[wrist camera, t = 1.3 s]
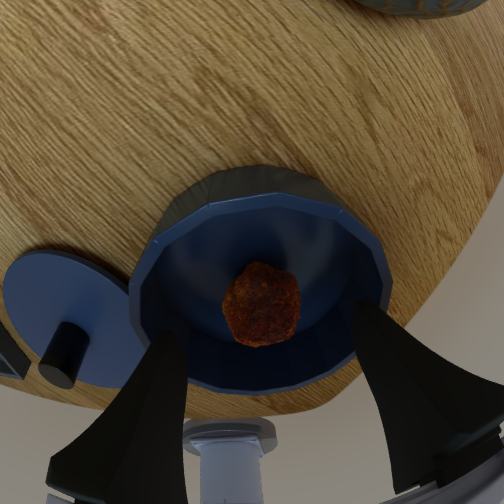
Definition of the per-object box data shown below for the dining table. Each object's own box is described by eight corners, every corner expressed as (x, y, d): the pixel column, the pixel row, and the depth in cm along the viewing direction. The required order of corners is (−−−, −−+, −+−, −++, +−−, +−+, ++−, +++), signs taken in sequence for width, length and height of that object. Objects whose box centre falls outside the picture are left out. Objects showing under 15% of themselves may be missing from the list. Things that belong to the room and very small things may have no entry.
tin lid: (188, 375, 19) (184, 431, 15) (63, 375, 19) (48, 417, 15) (120, 223, 13) (81, 280, 9) (-14, 260, 13) (-49, 300, 9)
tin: (352, 326, 17) (371, 372, 14) (184, 353, 17) (179, 402, 14) (360, 152, 12) (405, 177, 8) (120, 192, 12) (85, 229, 8)
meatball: (295, 297, 15) (311, 355, 12) (228, 308, 15) (229, 368, 12) (291, 239, 13) (311, 293, 10) (214, 252, 13) (209, 309, 10)
